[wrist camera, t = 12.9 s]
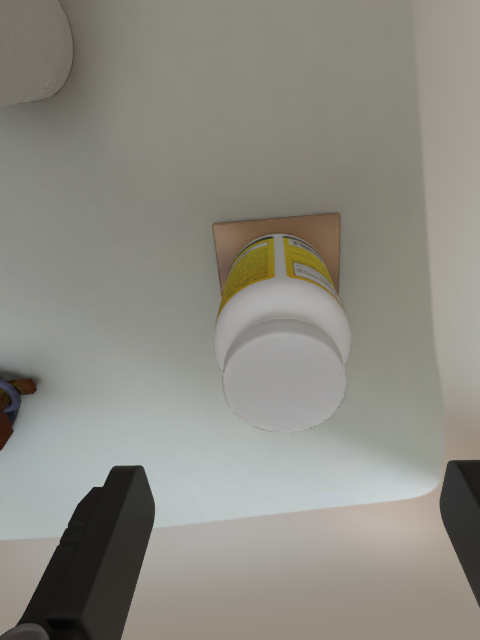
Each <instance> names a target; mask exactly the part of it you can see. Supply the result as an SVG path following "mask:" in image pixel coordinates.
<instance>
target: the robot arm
mask: <svg viewBox="0 0 480 640" xmlns="http://www.w3.org/2000/svg"><path fill="white" fill-rule="evenodd" d="M440 511H441V517H442V520H443V523H444V526H445V529H446V531H447V533H448V535H449V538H450V540H451V542H452V545H453V547H454V549H455V552H456V554H457V556H458V559H459V561H460V563H461V565H462V568H463V570H464V572H465V575H466V577H467V579H468V582H469V584H470V586H471V589H472V591H473V593H474V596H475V598H476V600H477V603H478V605H479V607H480V460H452V461H449V462H448V464H447V468H446V472H445V478H444V482H443V487H442V492H441V497H440ZM154 517H155V503H154V499H153V495H152V492H151V489H150V486H149V483H148V480H147V476H146V473H145V470H144V468H143V466H141V465H138V466H114V467H113V468H112V469H111V471H110V473H109V475H108V477H107V479H106V481H105V484H104V486H103V487H93V488H92V489H91V491H90V492H89V493H88V494H87V495H86V496H85V497H84V498H83V499H82V500H81V501H80V503H79V504H78V505H77V507H76V509H75V511H74V513H73V515H72V517H71V519H70V521H69V523H68V528H67V529H65V531H64V533H63V535H62V537H61V540H60V544H59V546H57V548H56V550H55V552H54V554H53V556H52V558H51V560H50V562H49V564H48V566H47V568H46V570H45V572H44V574H43V576H42V578H41V580H40V582H39V584H38V586H37V588H36V590H35V592H34V594H33V596H32V598H31V600H30V602H29V604H28V606H27V608H26V610H25V612H24V614H23V616H22V617H21V619H20V620H19V622H18V623H17V625H16V626H15V627H14V628H12V629H10V630H8V631H7V632H5V633H4V634H2V635H1V636H0V640H121V637H122V633H123V630H124V626H125V622H126V619H127V615H128V612H129V608H130V605H131V601H132V598H133V594H134V591H135V587H136V584H137V580H138V577H139V573H140V569H141V566H142V562H143V559H144V556H145V552H146V548H147V545H148V541H149V538H150V534H151V531H152V527H153V523H154Z"/></svg>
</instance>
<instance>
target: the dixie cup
mask: <svg viewBox="0 0 480 640" xmlns="http://www.w3.org/2000/svg"><path fill="white" fill-rule="evenodd" d="M72 60H73V40H72V34H71V29H70V26H69V22H68V20H67V17H66V14H65V12H64V10H63V8H62V6H61V4H60V3H59V1H58V0H0V107H1V106H8V105H14V104H20V103H26V102H32V101H38V100H43V99H46V98H48V97H50V96H52V95H54V94H55V93H56V92H57V91H58V90H59V89H60V88H61V87H62V86H63V85H64V83H65V81H66V80H67V78H68V75H69V73H70V70H71V66H72Z"/></svg>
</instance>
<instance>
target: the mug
mask: <svg viewBox="0 0 480 640" xmlns="http://www.w3.org/2000/svg"><path fill="white" fill-rule="evenodd" d="M36 391H37V388H36V385H35V383H34V382H33V380H32V379H20V380H10V381H4V380H2V379H0V451H1V450H2V449H3V447H4V446H5V444H6V442H7V441H8V439H9V438H10V436H11V434H12V433H13V428H12V425H13V423H14V420H15V418H16V416H17V414H16V411H15V410H16V409H18V408H19V406H20V404H21V399H20V396H19V395H22V394H27V395H28V394H34V393H35V392H36Z"/></svg>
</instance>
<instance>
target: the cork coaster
mask: <svg viewBox="0 0 480 640" xmlns="http://www.w3.org/2000/svg"><path fill="white" fill-rule="evenodd" d="M213 234H214V241H215V249H216V256H217V264H218V271H219V279H220V286H221V294H222V296H223V293H224V289H225V285H226V281H227V277H228V273H229V270H230V267H231V265H232V262H233V261H234V259H235V257H236V256H237V254H238V253H239V252H240V251H241V249H242V248H243V247H245V246H246V245H247V244H248V243H250V242H251V241H253V240H255V239H257V238H259V237H262V236H265V235H270V234H288V235H292V236H296V237H298V238H301V239H303V240H304V241H306V242H308V243H309V244H310V245H312V246H313V247H314V248H315V249H316V250H317V251H318V253H319V254H320V256H321V257H322V259H323V261H324V262H325V265H326V267H327V269H328V272H329V274H330V277H331V279H332V282H333V284H334V287H335V289H336V292H337V294H338V297H339V249H340V214H339V213H329V214H317V215H305V216H294V217H282V218H270V219H259V220H247V221H235V222H224V223H214V224H213Z"/></svg>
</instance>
